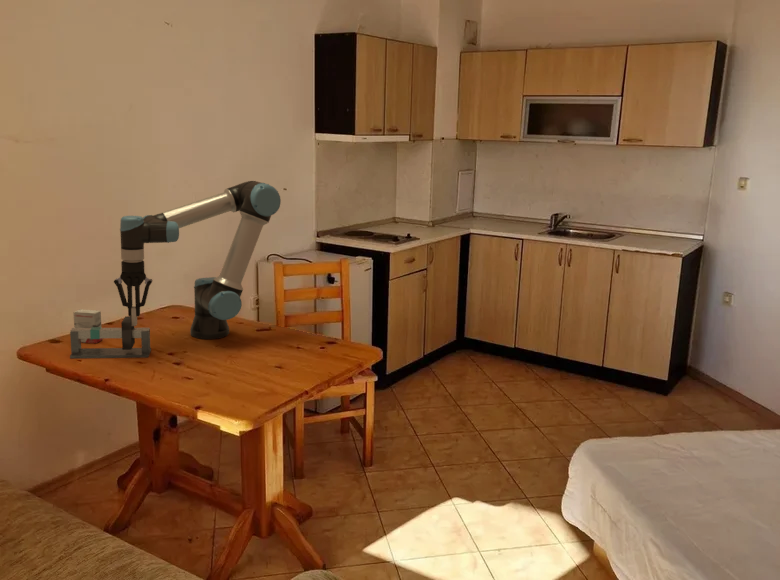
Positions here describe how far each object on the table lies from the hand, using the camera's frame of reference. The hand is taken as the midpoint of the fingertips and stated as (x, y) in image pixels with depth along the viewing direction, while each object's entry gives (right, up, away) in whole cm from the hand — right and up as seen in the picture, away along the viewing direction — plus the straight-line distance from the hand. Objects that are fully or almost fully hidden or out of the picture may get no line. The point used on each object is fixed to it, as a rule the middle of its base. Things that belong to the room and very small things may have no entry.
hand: (134, 324), depth 245 cm
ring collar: (-3, -8, +2) cm, 8 cm away
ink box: (-22, -7, +14) cm, 27 cm away
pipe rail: (-9, -11, +1) cm, 14 cm away
